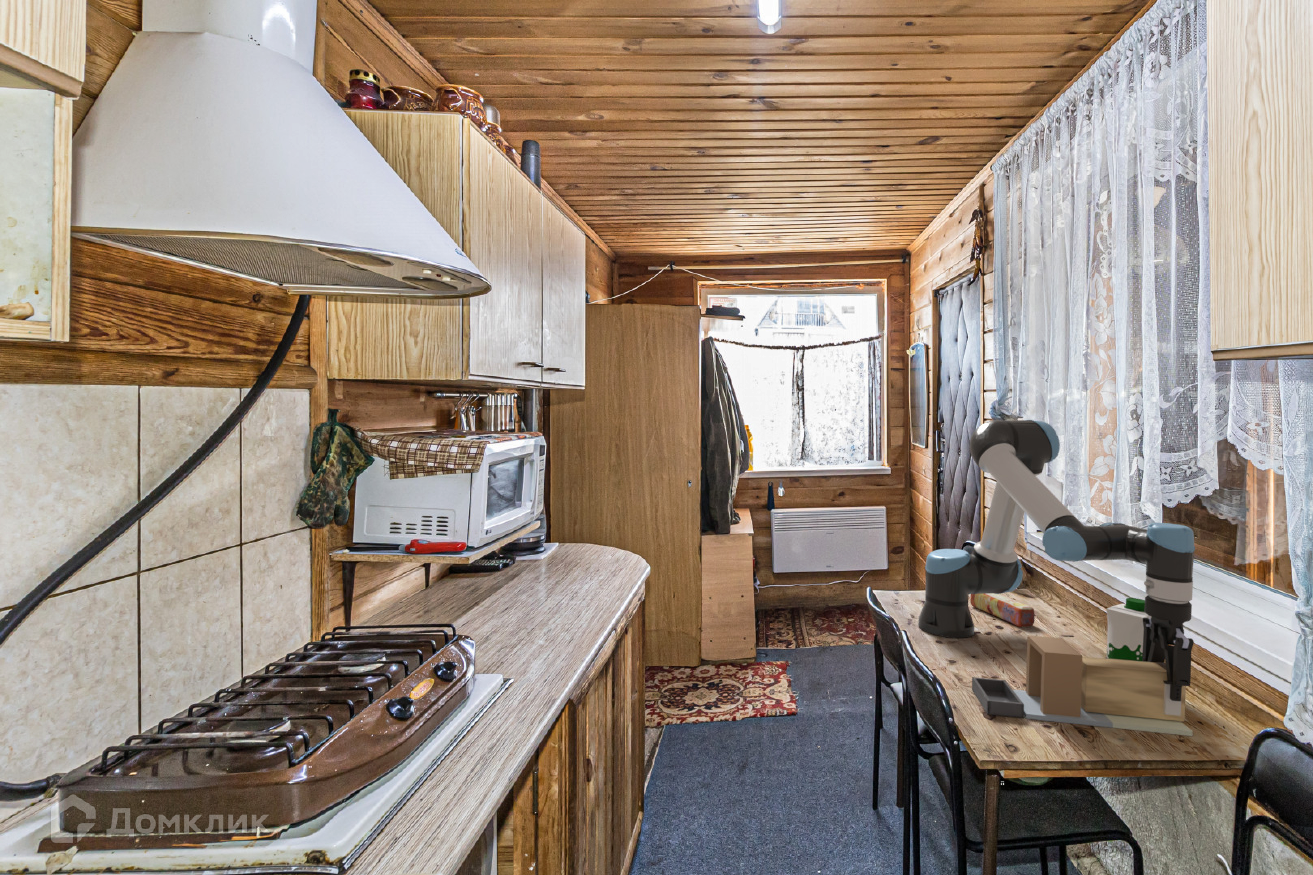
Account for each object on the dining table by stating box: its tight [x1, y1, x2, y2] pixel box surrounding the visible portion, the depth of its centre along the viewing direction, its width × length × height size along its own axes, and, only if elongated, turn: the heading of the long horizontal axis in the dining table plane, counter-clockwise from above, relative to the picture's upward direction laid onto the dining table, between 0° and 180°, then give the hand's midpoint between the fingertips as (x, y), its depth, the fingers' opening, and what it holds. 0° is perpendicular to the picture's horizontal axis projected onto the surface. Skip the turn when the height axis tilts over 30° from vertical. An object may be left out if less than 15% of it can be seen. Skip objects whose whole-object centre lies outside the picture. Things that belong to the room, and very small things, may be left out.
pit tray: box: [971, 676, 1025, 719], centre depth 136 cm, size 12×7×3 cm, turn 167°
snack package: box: [969, 593, 1036, 628], centre depth 194 cm, size 21×7×7 cm, turn 12°
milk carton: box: [1106, 597, 1151, 661], centre depth 145 cm, size 9×9×20 cm
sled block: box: [1081, 655, 1187, 722], centre depth 130 cm, size 5×18×10 cm, turn 77°
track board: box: [1012, 634, 1194, 737], centre depth 131 cm, size 12×30×14 cm, turn 77°
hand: (1163, 707), depth 128 cm, fingers closed on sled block, 5 cm apart
